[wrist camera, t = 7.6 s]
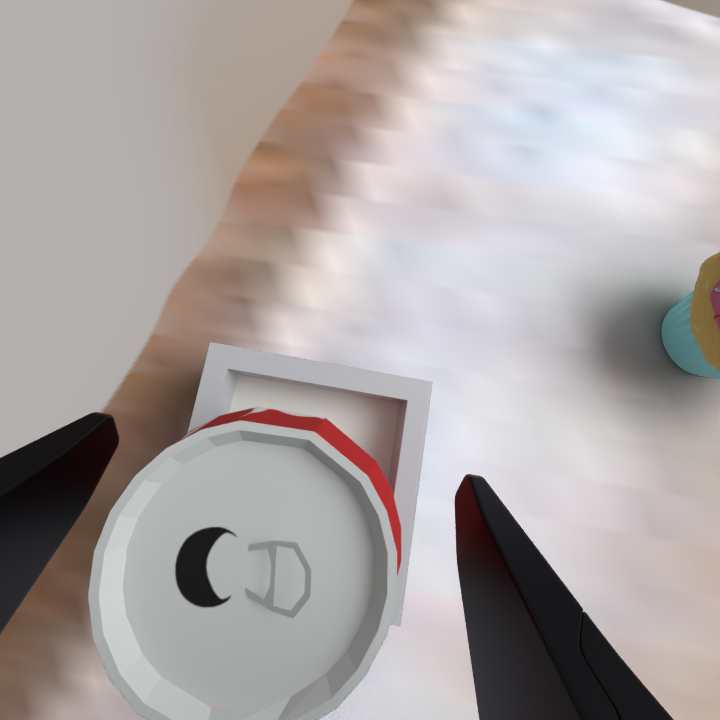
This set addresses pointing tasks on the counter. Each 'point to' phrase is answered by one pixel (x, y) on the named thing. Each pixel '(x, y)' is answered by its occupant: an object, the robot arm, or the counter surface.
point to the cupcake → (697, 325)
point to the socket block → (331, 415)
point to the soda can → (247, 572)
